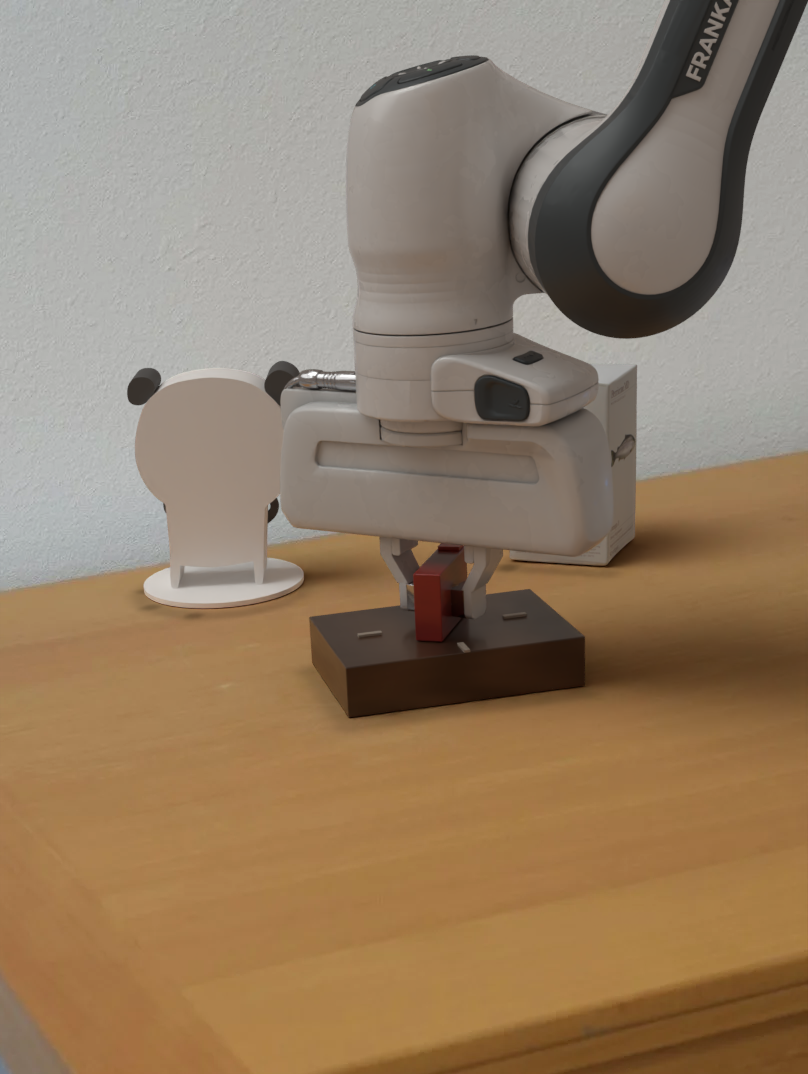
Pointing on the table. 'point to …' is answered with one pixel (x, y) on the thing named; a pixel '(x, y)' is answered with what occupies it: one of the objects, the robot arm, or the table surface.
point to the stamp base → (446, 655)
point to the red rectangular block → (437, 592)
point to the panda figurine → (214, 482)
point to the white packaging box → (620, 427)
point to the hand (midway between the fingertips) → (443, 612)
